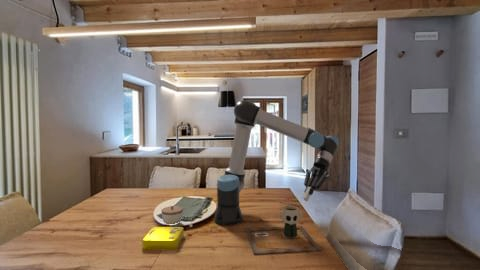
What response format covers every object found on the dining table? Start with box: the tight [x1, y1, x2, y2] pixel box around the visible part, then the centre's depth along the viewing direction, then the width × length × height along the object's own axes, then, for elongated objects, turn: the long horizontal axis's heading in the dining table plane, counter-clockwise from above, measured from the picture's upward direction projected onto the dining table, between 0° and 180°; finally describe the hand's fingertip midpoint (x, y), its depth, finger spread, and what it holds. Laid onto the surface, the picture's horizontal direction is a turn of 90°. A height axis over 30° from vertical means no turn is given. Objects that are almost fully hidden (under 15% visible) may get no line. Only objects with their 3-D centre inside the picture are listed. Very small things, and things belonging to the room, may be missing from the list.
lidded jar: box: [161, 205, 184, 225], centre depth 143 cm, size 11×11×9 cm
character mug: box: [278, 205, 303, 237], centre depth 128 cm, size 11×7×13 cm, turn 92°
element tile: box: [141, 226, 185, 251], centre depth 123 cm, size 15×15×5 cm
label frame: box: [245, 225, 323, 256], centre depth 124 cm, size 28×25×1 cm
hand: (305, 199), depth 135 cm, fingers closed
